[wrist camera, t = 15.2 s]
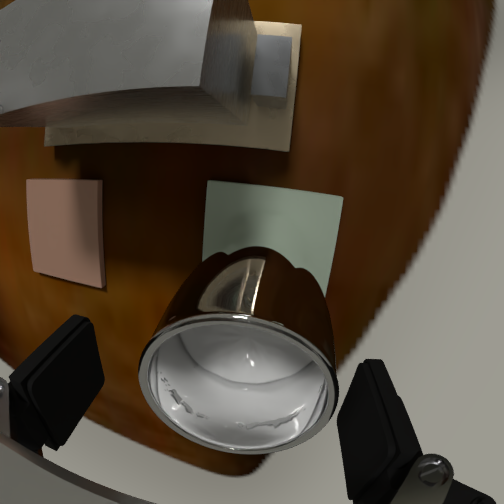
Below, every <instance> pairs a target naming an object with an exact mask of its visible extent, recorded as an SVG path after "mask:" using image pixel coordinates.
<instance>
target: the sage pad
mask: <svg viewBox="0 0 504 504" xmlns="http://www.w3.org/2000/svg"><path fill="white" fill-rule="evenodd" d="M342 203H343V197H341V196H335V195H329V194H322V193H316V192H309V191H302V190H294V189H287V188H279V187H271V186H263V185H254V184H245V183H236V182H226V181H216V180H209V181H208V182H207V195H206V208H205V222H204V238H203V256H202V262H203V261H204V260H205V259H206V258H208V257H209V256H210V255H212V254H213V253H214V252H216V251H217V250H219V249H221V248H223V247H224V246H225V242H226V239H227V237H228V235H229V233H230V231H231V230H232V228H233V227H234V226H235V225H236V224H237V223H238V222H239V221H241V220H242V219H244V218H246V217H248V216H251V215H254V214H259V213H269V214H275V215H278V216H281V217H283V218H285V219H287V220H288V221H290V222H291V223H292V224H293V225H294V226H295V227H296V228H297V229H298V231H299V232H300V234H301V236H302V238H303V240H304V244H305V250H306V257H305V263H306V264H307V266H308V267H309V268H310V270H311V271H312V273H313V275H314V276H315V278H316V280H317V282H318V283H319V285H320V287H321V289H322V292H323V294H324V297H325V294H326V290H327V285H328V280H329V275H330V270H331V265H332V260H333V255H334V250H335V244H336V239H337V233H338V228H339V222H340V216H341V210H342Z"/></svg>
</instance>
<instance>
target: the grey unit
mask: <svg viewBox="0 0 504 504" xmlns="http://www.w3.org/2000/svg"><path fill="white" fill-rule="evenodd" d="M300 37H301V25H298V24H288V23H277V22H261V21H254V20H253V17H252V13H251V9H250V6H249V2H248V0H16V1H14V2H12V3H11V4H9V5H7V6H6V7H4V8H3V9H1V10H0V127H46V129H45V142H44V146H59V145H73V144H92V143H131V142H146V143H187V144H206V145H222V146H235V147H246V148H256V149H266V150H275V151H283V152H289V147H290V138H291V129H292V120H293V110H294V101H295V91H296V81H297V70H298V60H299V49H300Z"/></svg>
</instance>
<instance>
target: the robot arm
mask: <svg viewBox="0 0 504 504" xmlns="http://www.w3.org/2000/svg"><path fill="white" fill-rule="evenodd" d="M9 378H10V382H9V383H7V382H6V380H4V379H3V378H1V377H0V504H156V503H152V502H149V501H145V500H142V499H139V498H136V497H132V496H130V495H127V494H124V493H121V492H118V491H116V490H113V489H110V488H108V487H105V486H103V485H100V484H97V483H95V482H93V481H90V480H88V479H85V478H83V477H81V476H79V475H77V474H74V473H72V472H70V471H68V470H66V469H64V468H62V467H60V466H58V465H56V464H54V463H53V462H51V461H49V460H47V459H45V458H43V453H42V446H43V445H44V444H45V445H46V446H48V447H49V448H51V449H53V450H55V451H57V450H58V448H59V447H60V446H63V445H64V444H65V443H66V441H67V439H68V438H69V437H70V435H71V433H72V432H73V430H74V429H75V427H76V426H77V424H78V422H79V421H80V420H81V418H82V417H83V415H84V414H85V412H86V410H87V409H88V407H89V406H90V404H91V403H92V401H93V400H94V398H95V397H96V395H97V394H98V392H99V391H100V389H101V388H102V387H103V385H104V381H105V378H104V373H103V369H102V365H101V360H100V356H99V351H98V347H97V342H96V336H95V331H94V326H93V324H92V323H91V322H90V320H89V318H87V317H83V316H80V315H73V316H71V317H70V318H69V319H68V320H67V321H66V322H65V323H64V324H63V325H61V326H60V327H59V328H58V329H57V330H56V331H55V332H54V333H53V334H52V335H51V336H50V337H49V338H47V339H46V340H45V341H44V342H43V343H42V344H41V345H40V346H39V347H38V348H37V349H36V350H35V351H34V352H33V353H32V354H31V355H30V356H29V357H28V358H27V359H26V360H25V361H24V362H23V363H22V364H21V365H20V366H19V367H18V368H17V369H16V370H15V371H14V372H13V373H12V374H11V375H10V376H9ZM337 427H338V433H339V439H340V446H341V452H342V458H343V466H344V472H345V479H346V487H347V495H348V499H349V500H353V504H496V502H495V501H494V499H493V498H491V497H490V496H488V495H486V494H484V493H482V492H479V491H477V490H475V489H473V488H471V487H469V486H467V485H465V484H462V483H460V482H458V481H456V480H454V479H453V476H454V472H453V467H452V465H451V463H450V462H449V461H448V460H447V459H446V458H444V457H443V456H441V455H437V454H426V455H423V453H422V450H421V447H420V444H419V442H418V439H417V437H416V434H415V431H414V429H413V426H412V424H411V421H410V418H409V416H408V413H407V411H406V409H405V406H404V404H403V401H402V399H401V398H400V397H399V396H398V395H397V393H396V390H395V388H394V385H393V383H392V381H391V378H390V376H389V374H388V371H387V369H386V367H385V365H384V362H383V361H382V360H381V359H366V360H364V362H363V363H360V364H359V365H358V367H357V369H356V372H355V375H354V377H353V380H352V382H351V385H350V387H349V390H348V392H347V395H346V397H345V399H344V402H343V404H342V406H341V409H340V411H339V413H338V416H337Z"/></svg>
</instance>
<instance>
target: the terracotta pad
mask: <svg viewBox="0 0 504 504" xmlns="http://www.w3.org/2000/svg"><path fill="white" fill-rule="evenodd" d="M102 182H103V180H93V179H27V213H28V227H29V238H30V248H31V256H32V263H33V270H34V271H36V272H39V273H43V274H47V275H51V276H54V277H58V278H62V279H66V280H70V281H74V282H78V283H82V284H86V285H90V286H95V287H99V288H103V287H104V286H105V285H106V280H105V267H104V252H103V227H102Z"/></svg>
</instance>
